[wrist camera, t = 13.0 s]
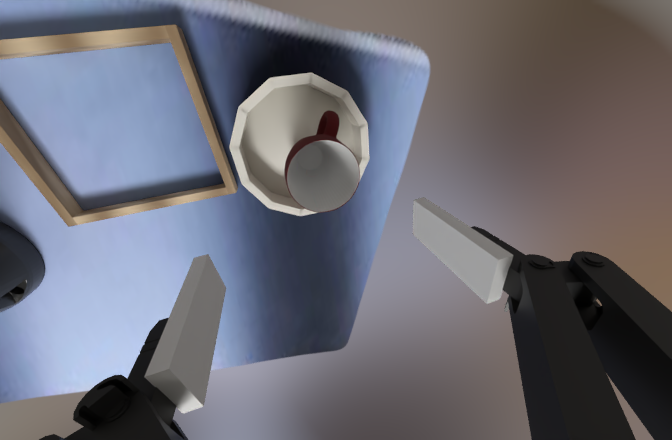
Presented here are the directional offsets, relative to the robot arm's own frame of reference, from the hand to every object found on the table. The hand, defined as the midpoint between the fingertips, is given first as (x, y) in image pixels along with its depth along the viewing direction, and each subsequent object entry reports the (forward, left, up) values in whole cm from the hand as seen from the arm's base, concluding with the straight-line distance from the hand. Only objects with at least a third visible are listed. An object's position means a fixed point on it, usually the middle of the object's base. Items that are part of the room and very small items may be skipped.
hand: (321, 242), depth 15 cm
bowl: (+2, +1, -22) cm, 22 cm away
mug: (+3, +1, -21) cm, 22 cm away
